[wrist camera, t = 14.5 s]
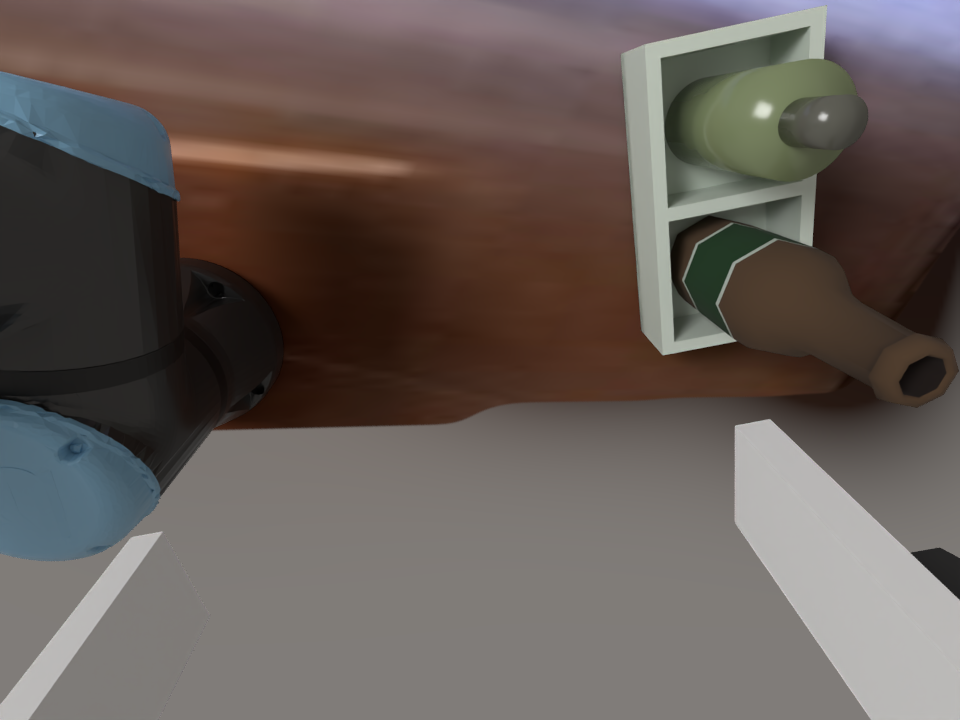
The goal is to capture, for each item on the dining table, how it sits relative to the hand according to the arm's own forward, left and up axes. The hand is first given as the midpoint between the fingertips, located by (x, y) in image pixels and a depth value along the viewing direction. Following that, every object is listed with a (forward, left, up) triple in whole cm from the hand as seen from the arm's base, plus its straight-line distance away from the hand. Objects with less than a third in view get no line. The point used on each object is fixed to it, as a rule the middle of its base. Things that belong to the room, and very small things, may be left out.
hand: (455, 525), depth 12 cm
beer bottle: (+21, -7, -36) cm, 42 cm away
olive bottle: (+21, +4, -36) cm, 42 cm away
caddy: (+21, -1, -37) cm, 42 cm away
